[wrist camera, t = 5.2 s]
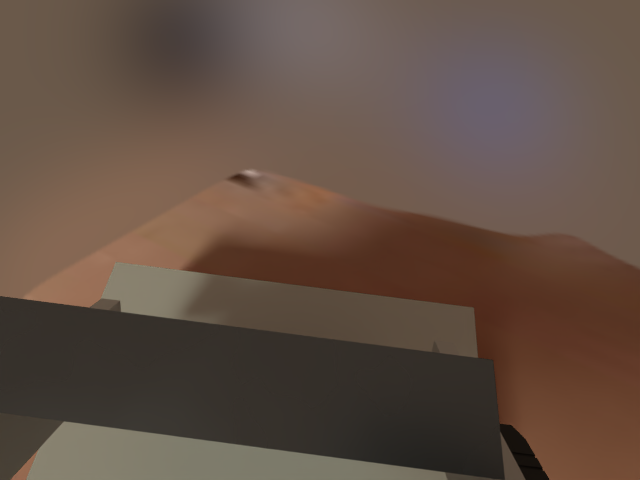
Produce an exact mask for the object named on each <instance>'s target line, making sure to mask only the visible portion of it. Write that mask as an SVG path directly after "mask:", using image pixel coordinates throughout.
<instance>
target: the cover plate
mask: <svg viewBox="0 0 640 480" xmlns="http://www.w3.org/2000/svg"><path fill="white" fill-rule="evenodd" d="M0 413H5V414H13V415H20V416H28V417H35V418H42V419H50V420H57V421H65V422H72V423H80V424H87V425H95V426H102V427H110V428H117V429H125V430H132V431H140V432H147V433H155V434H162V435H170V436H177V437H185V438H192V439H200V440H207V441H215V442H222V443H229V444H237V445H244V446H252V447H259V448H267V449H274V450H282V451H289V452H297V453H304V454H312V455H319V456H327V457H334V458H342V459H349V460H357V461H364V462H372V463H379V464H387V465H394V466H401V467H409V468H416V469H424V470H431V471H439V472H446V473H454V474H461V475H469V476H476V477H484V478H491V479H499V480H505V475H504V465H503V455H502V445H501V434H500V424H499V414H498V404H497V394H496V384H495V374H494V364H493V360H490V359H482V358H474V357H467V356H459V355H451V354H443V353H436V352H428V351H420V350H412V349H405V348H397V347H389V346H382V345H374V344H366V343H358V342H351V341H343V340H335V339H327V338H320V337H312V336H304V335H296V334H289V333H281V332H273V331H265V330H258V329H250V328H242V327H234V326H227V325H219V324H211V323H203V322H196V321H188V320H180V319H172V318H165V317H157V316H149V315H141V314H134V313H126V312H118V311H110V310H103V309H95V308H87V307H80V306H72V305H64V304H56V303H49V302H41V301H33V300H25V299H18V298H10V297H2V296H0Z"/></svg>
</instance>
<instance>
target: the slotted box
mask: <svg viewBox="0 0 640 480" xmlns="http://www.w3.org/2000/svg"><path fill="white" fill-rule="evenodd" d="M102 298H104V299H112V300H120V304H121V312H126V313H134V314H141V315H149V316H157V317H165V318H172V319H180V320H188V321H196V322H203V323H211V324H219V325H227V326H234V327H242V328H250V329H258V330H265V331H273V332H281V333H289V334H296V335H304V336H312V337H320V338H327V339H335V340H343V341H351V342H358V343H366V344H374V345H382V346H389V347H397V348H405V349H412V350H420V351H428V352H432V348H433V344H434V340H437V341H445V342H453V343H454V345H455V347H456V349H457V351H458V353H459V355H460V356H467V357H474V358H478V352H477V340H476V327H475V315H474V308H473V307H466V306H458V305H450V304H442V303H434V302H426V301H418V300H411V299H403V298H395V297H387V296H379V295H371V294H363V293H356V292H348V291H340V290H332V289H324V288H316V287H308V286H300V285H293V284H285V283H277V282H269V281H261V280H253V279H245V278H238V277H230V276H222V275H214V274H206V273H198V272H190V271H183V270H175V269H167V268H159V267H151V266H143V265H135V264H128V263H120V262H116V263H115V266H114V268H113V270H112V273H111V275H110V278H109V280H108V283H107V285H106V287H105V290H104V292H103V295H102V297H101V299H102ZM26 480H447V477H446V474H445V472H439V471H431V470H424V469H416V468H409V467H401V466H394V465H387V464H379V463H372V462H364V461H357V460H349V459H342V458H334V457H327V456H319V455H312V454H304V453H297V452H289V451H282V450H274V449H267V448H259V447H252V446H244V445H237V444H229V443H222V442H215V441H207V440H200V439H192V438H185V437H177V436H170V435H162V434H155V433H147V432H140V431H132V430H125V429H117V428H110V427H102V426H95V425H87V424H80V423H72V422H65V421H64V422H63V423H62V424H61V425H60V426H59V427H58V428H57V430H56V431H55V432H54V433H53V434H52V435H51V436H50V437H49V438H48V439H47V440H46V441H45V443H44V444H43V445H42V446H41V447H40V448H39V450H38V452H37V455H36V457H35V460H34V462H33V464H32V467H31V469H30V472H29V474H28V477H27V479H26Z"/></svg>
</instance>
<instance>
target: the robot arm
mask: <svg viewBox="0 0 640 480" xmlns="http://www.w3.org/2000/svg"><path fill="white" fill-rule="evenodd" d="M90 308H95V309H103V310H110V311H118V312H121V304H120V300H112V299H104V298H102V299H100V300H99V301H98V302H96V303H95V304H94V305H92V306H91V307H90ZM432 352H436V353H443V354H451V355H459V353H458V351H457V349H456V347H455V345H454V343H453V342H445V341H437V340H434V344H433V348H432ZM459 356H460V355H459ZM63 422H64V421H57V420H50V419H42V418H35V417H28V416H20V415H13V414H5V413H0V480H10V479H11V478H12V477H13V476H14V475H15V474H16V473H17V472H18V471H19V470H20V469H21V467H22V466H23V465H24V464H25V463H26V462H27V461H28V460H29V459H30V458H31V457H32V456H33V454H34V453H35V452H36V451H37V450H38V449H39V448H40V447H41V446H42V445H43V444H44V443H45V441H46V440H47V439H48V438H49V437H50V436H51V435H52V434H53V433H54V432H55V431H56V430H57V428H58V427H59V426H60V425H61V424H62V423H63ZM500 434H501V445H502V455H503V465H504V475H505V480H549V478H548V476H547V475H546V473H545V471H543V470H542V466H541V465H540V463H539V461H538V459H537V458H535V454H534V453H533V451H532V449H531V448H530V446H529V444H528V443H527V441H526V439H525V438H524V437H523V436H522V435H521V434H520V433H519V432H518V431H517V430H516V429H515V428H514V427H513V426H512V425H505V424H500ZM445 474H446V477H447V480H499V479H491V478H484V477H476V476H469V475H461V474H454V473H446V472H445Z"/></svg>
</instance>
